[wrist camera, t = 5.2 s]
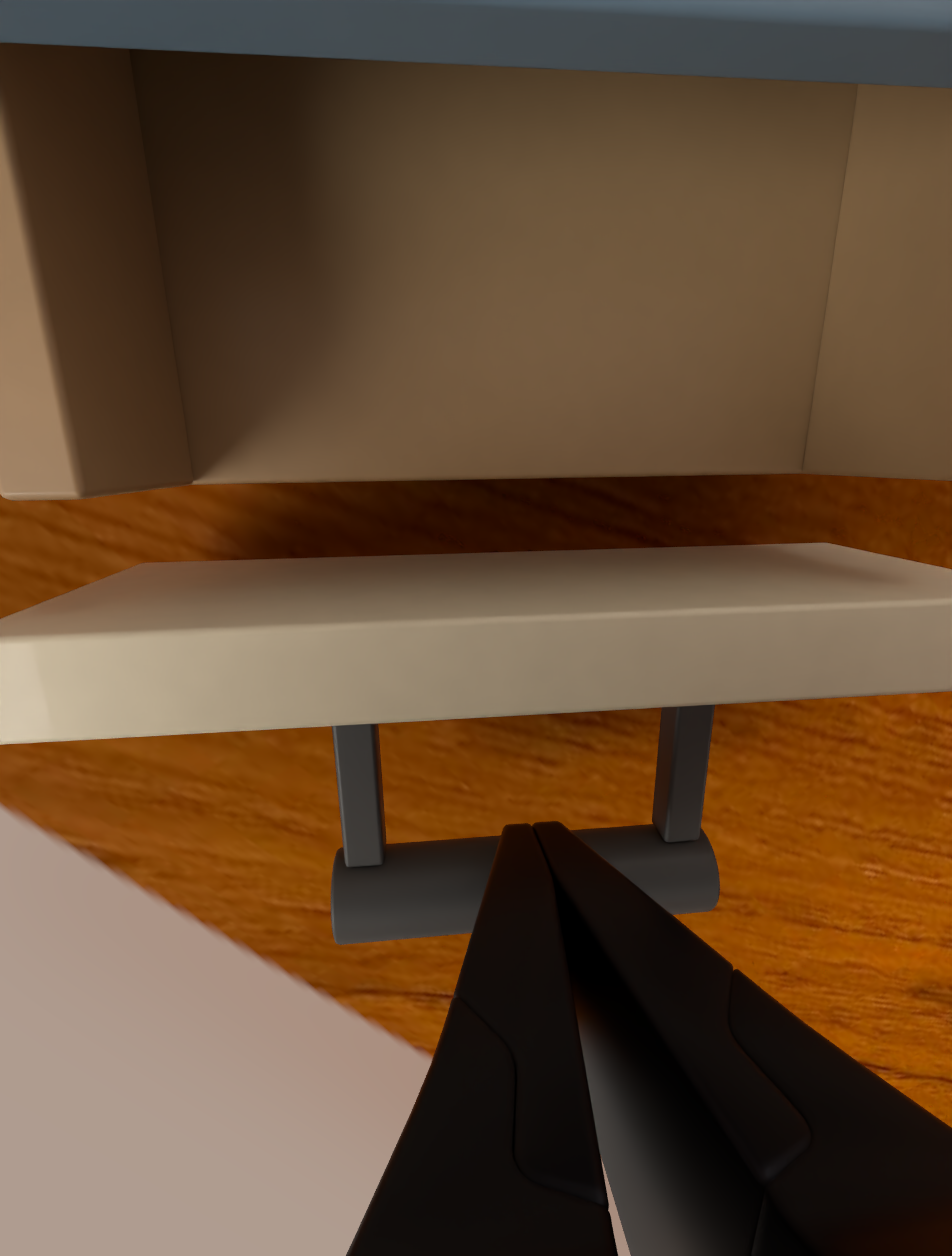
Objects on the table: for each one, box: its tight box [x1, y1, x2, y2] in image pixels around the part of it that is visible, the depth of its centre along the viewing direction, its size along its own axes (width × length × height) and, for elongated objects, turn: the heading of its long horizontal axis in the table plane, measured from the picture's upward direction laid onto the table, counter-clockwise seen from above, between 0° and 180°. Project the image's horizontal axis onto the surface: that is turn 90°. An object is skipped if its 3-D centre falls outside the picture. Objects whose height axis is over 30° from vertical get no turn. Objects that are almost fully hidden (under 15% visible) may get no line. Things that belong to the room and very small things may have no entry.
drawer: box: [0, 43, 952, 945], centre depth 7 cm, size 19×12×4 cm, turn 1°
